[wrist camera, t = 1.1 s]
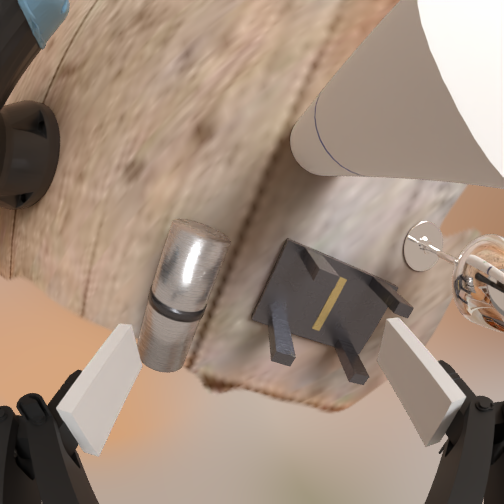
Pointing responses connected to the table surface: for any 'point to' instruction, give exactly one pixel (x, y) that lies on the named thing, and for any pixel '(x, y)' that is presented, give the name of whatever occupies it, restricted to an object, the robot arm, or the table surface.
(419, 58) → the cylindrical container
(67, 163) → the table surface
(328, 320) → the rail
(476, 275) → the wineglass
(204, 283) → the tube
